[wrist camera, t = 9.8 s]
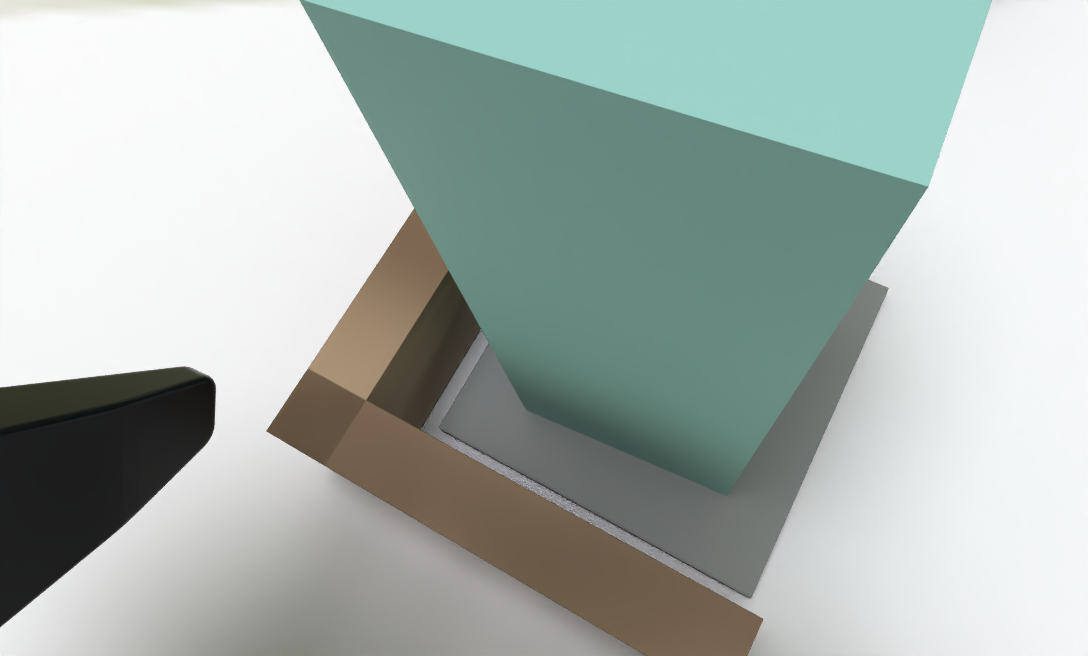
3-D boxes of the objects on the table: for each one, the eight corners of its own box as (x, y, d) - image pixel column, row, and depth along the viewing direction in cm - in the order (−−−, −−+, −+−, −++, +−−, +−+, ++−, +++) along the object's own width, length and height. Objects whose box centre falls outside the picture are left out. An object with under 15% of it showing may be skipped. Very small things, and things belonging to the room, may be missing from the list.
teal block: (726, 495, 17) (928, 186, 5) (526, 410, 18) (299, -2, 6) (799, 304, 18) (1095, -302, 6) (608, 236, 20) (552, -373, 8)
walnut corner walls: (709, 686, 16) (726, 702, 13) (331, 464, 19) (266, 431, 15) (884, 293, 19) (936, 223, 15) (530, 148, 21) (510, 63, 18)
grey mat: (749, 598, 16) (751, 597, 16) (441, 430, 19) (438, 427, 18) (884, 293, 19) (888, 287, 18) (594, 174, 21) (593, 168, 20)
